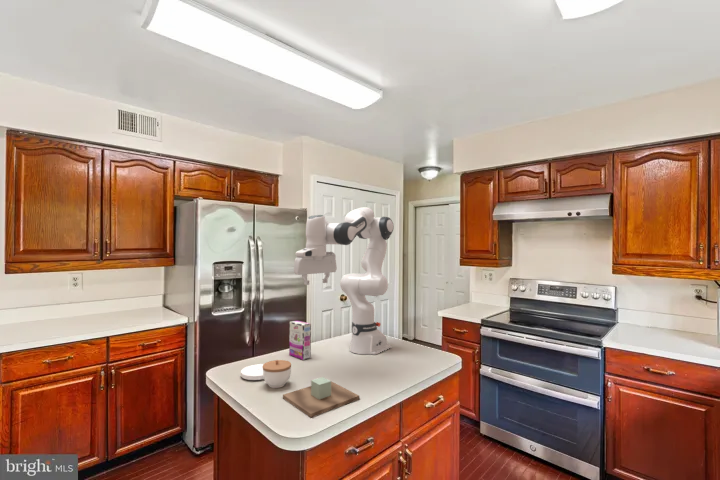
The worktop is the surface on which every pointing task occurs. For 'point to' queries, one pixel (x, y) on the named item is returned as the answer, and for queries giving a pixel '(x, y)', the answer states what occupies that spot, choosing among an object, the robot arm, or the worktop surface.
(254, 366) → the white gear
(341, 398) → the cutting board
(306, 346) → the candy bar box
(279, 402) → the worktop surface
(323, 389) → the sage cube
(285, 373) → the lidded jar
